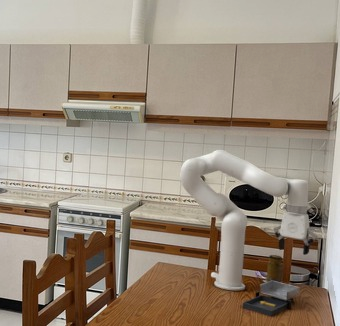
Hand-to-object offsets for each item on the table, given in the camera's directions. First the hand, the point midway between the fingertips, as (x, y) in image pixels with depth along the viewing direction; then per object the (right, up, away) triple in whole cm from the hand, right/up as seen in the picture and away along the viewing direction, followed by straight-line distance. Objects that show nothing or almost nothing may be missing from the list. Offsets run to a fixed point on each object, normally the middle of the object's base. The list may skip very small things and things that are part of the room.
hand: (293, 251), depth 200 cm
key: (-14, -17, -13) cm, 26 cm away
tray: (-16, -18, -15) cm, 29 cm away
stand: (-9, -18, -7) cm, 21 cm away
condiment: (-1, -18, +19) cm, 26 cm away
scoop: (-6, -16, -5) cm, 18 cm away
